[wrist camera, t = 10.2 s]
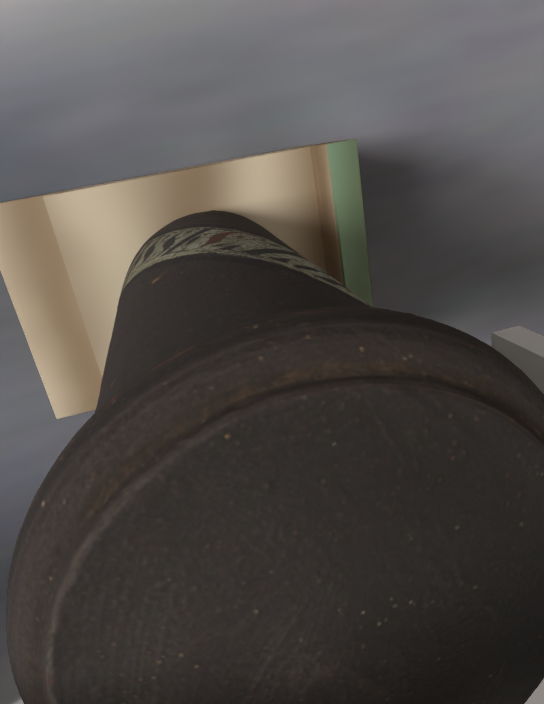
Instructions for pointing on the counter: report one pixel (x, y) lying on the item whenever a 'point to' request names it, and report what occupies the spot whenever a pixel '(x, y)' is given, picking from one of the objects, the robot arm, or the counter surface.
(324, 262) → the stand
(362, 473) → the container
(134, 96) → the counter surface
